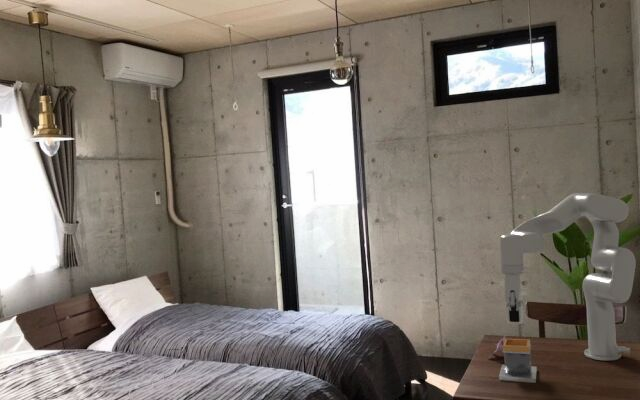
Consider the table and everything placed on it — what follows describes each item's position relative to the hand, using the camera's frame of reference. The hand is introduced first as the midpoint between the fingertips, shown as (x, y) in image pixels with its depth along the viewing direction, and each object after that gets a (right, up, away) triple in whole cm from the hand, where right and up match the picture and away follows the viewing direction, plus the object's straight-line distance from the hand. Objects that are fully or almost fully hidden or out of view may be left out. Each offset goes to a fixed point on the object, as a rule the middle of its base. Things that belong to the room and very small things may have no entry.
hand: (515, 319), depth 201 cm
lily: (+1, -20, +21) cm, 29 cm away
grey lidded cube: (0, -1, 0) cm, 1 cm away
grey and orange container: (+2, -20, +1) cm, 21 cm away
